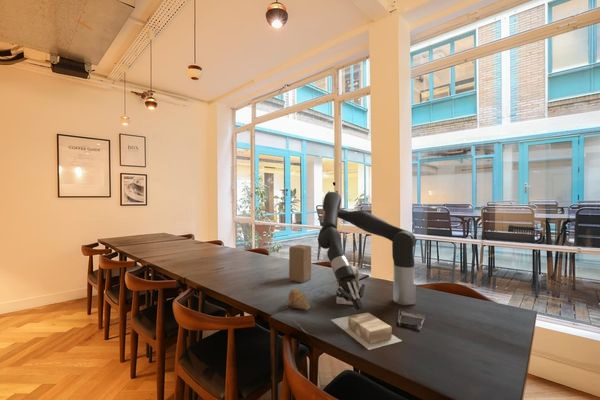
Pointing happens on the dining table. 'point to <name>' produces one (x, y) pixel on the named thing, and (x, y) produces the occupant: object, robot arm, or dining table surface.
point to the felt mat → (344, 325)
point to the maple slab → (370, 327)
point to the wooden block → (300, 263)
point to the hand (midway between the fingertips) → (359, 309)
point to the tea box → (339, 299)
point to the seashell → (298, 300)
